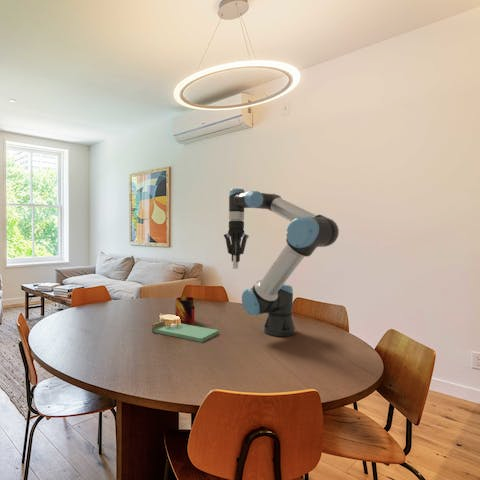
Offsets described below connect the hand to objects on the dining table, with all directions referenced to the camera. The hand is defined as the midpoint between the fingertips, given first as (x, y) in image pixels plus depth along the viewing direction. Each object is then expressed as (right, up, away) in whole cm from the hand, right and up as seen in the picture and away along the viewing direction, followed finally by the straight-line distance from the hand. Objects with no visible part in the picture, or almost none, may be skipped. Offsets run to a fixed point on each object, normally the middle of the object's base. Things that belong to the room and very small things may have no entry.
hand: (235, 268), depth 169 cm
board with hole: (-23, -29, -10) cm, 39 cm away
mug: (-25, -29, +9) cm, 39 cm away
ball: (-29, -27, -6) cm, 41 cm away
